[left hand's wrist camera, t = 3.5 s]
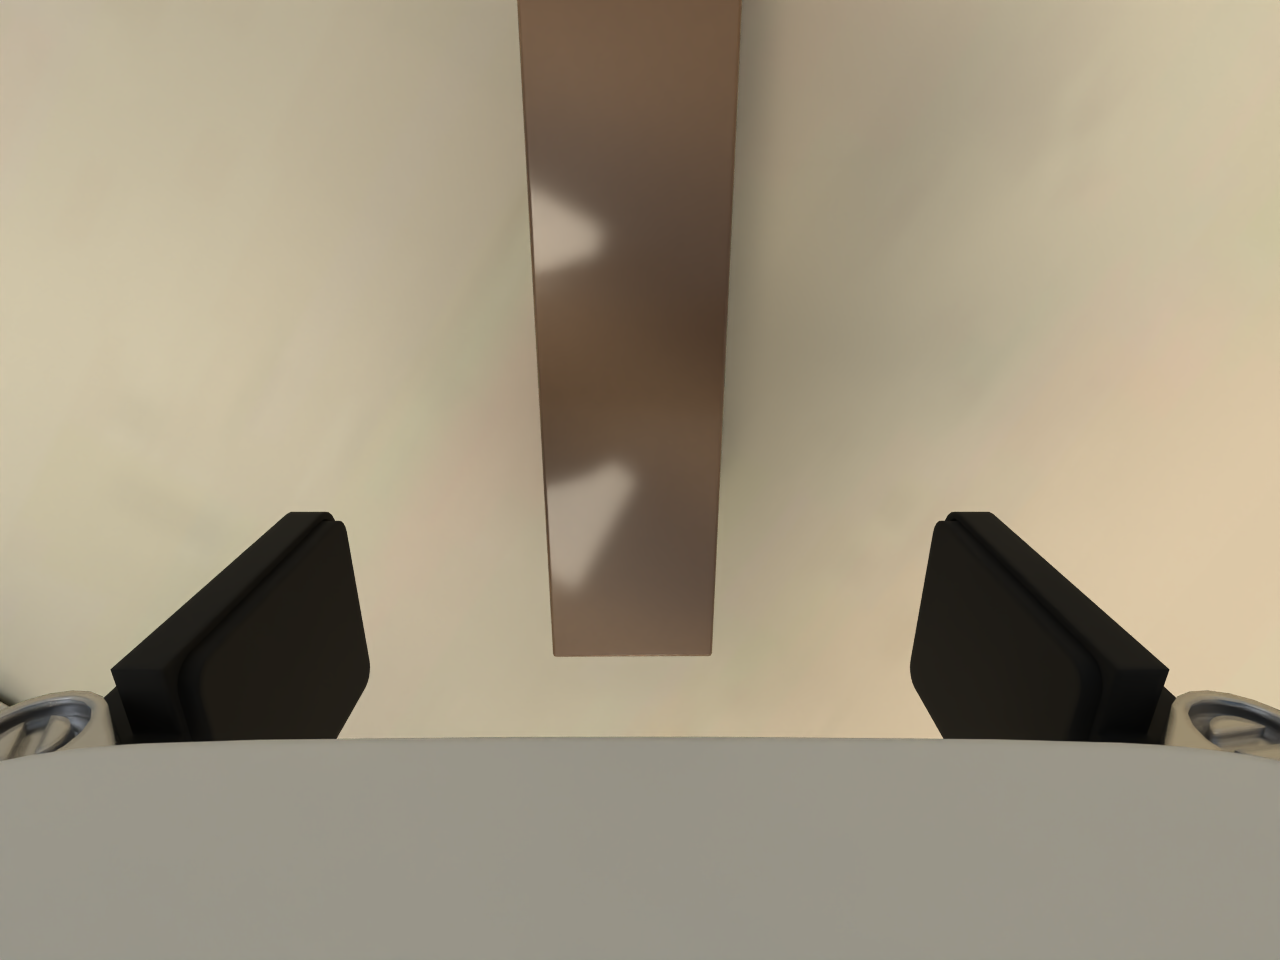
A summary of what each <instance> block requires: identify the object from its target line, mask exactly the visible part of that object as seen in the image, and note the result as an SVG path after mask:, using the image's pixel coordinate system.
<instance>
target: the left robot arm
mask: <svg viewBox="0 0 1280 960" xmlns="http://www.w3.org/2000/svg"><path fill="white" fill-rule="evenodd" d="M111 672H112V675H113V678H114V681H115V684H116V687H115V688H114V689H113V690H112V691H111V692H110V693H109V694H107V695H106V696H105V697H104V698H103V696H100V695H98V694H95V693H93V692H89V691H65V692H58V693H50V694H47V695H43V696H39V697H35V698H32V699H28V700H25V701H22V702H20V703H17V704H15V705H12V706H10V707H9V706H7V705H5V704H4V703H2V702H0V960H1280V710H1278V709H1275V708H1273V707H1270V706H1268V705H1265V704H1263V703H1260V702H1258V701H1255V700H1252V699H1248V698H1245V697H1241V696H1237V695H1233V694H1230V693H1222V692H1215V691H1191V692H1187V693H1185V694H1182V695H1180V696H1177V698H1176V697H1175V696H1174V695H1173V694H1171V693H1170V692H1169V691H1168V690H1167V689H1166V688H1165V687H1164V684H1165V681H1166V678H1167V675H1168V672H1169V669H1168V668H1167V667H1166V666H1165V665H1164V664H1163V663H1162V662H1160V661H1159V660H1158V659H1157V658H1156V657H1155V656H1154V655H1152V654H1151V653H1150V652H1149V651H1148V650H1147V649H1146V648H1145V647H1143V646H1142V645H1141V644H1140V643H1139V642H1138V641H1137V640H1135V639H1134V638H1133V637H1132V636H1131V635H1130V634H1129V633H1128V632H1126V631H1125V630H1124V629H1123V628H1122V627H1121V626H1120V625H1118V624H1117V623H1116V622H1115V621H1114V620H1113V619H1112V618H1110V617H1109V616H1108V615H1107V614H1106V613H1105V612H1104V611H1103V610H1101V609H1100V608H1099V607H1098V606H1097V605H1096V604H1095V603H1093V602H1092V601H1091V600H1090V599H1089V598H1088V597H1087V596H1086V595H1084V594H1083V593H1082V592H1081V591H1080V590H1079V589H1078V588H1076V587H1075V586H1074V585H1073V584H1072V583H1071V582H1070V581H1069V580H1067V579H1066V578H1065V577H1064V576H1063V575H1062V574H1061V573H1059V572H1058V571H1057V570H1056V569H1055V568H1054V567H1053V566H1052V565H1050V564H1049V563H1048V562H1047V561H1046V560H1045V559H1044V558H1042V557H1041V556H1040V555H1039V554H1038V553H1037V552H1036V551H1035V550H1033V549H1032V548H1031V547H1030V546H1029V545H1028V544H1027V543H1025V542H1024V541H1023V540H1022V539H1021V538H1020V537H1019V536H1018V535H1016V534H1015V533H1014V532H1013V531H1012V530H1011V529H1010V528H1008V527H1007V526H1006V525H1005V524H1004V523H1003V522H1002V521H1000V520H999V519H998V518H997V517H996V516H995V515H994V514H992V513H990V512H951V513H950V514H949V515H948V516H947V518H946V520H945V521H939V522H937V523H936V525H935V527H934V531H933V536H932V542H931V548H930V553H929V559H928V565H927V570H926V576H925V582H924V587H923V593H922V599H921V604H920V610H919V616H918V621H917V627H916V633H915V638H914V644H913V650H912V655H911V661H910V673H911V679H912V683H913V685H914V687H915V689H916V691H917V693H918V694H919V696H920V698H921V700H922V702H923V703H924V705H925V707H926V709H927V710H928V712H929V714H930V716H931V717H932V719H933V721H934V723H935V724H936V726H937V728H938V730H939V732H940V733H941V735H942V737H943V739H899V738H785V737H471V738H381V739H337V737H338V735H339V733H340V732H341V730H342V728H343V726H344V724H345V723H346V721H347V719H348V717H349V716H350V714H351V712H352V710H353V709H354V707H355V705H356V703H357V702H358V700H359V698H360V696H361V694H362V693H363V691H364V689H365V687H366V685H367V683H368V679H369V673H370V661H369V655H368V650H367V644H366V638H365V633H364V627H363V621H362V616H361V610H360V604H359V599H358V593H357V587H356V582H355V576H354V570H353V565H352V559H351V553H350V548H349V542H348V536H347V531H346V527H345V525H344V523H343V522H341V521H335V520H334V518H333V516H332V515H331V514H330V513H329V512H290V513H288V514H286V515H285V516H284V517H283V518H282V519H281V520H280V521H278V522H277V523H276V524H275V525H274V526H273V527H272V528H270V529H269V530H268V531H267V532H266V533H265V534H264V535H262V536H261V537H260V538H259V539H258V540H257V541H256V542H255V543H253V544H252V545H251V546H250V547H249V548H248V549H247V550H245V551H244V552H243V553H242V554H241V555H240V556H239V557H238V558H236V559H235V560H234V561H233V562H232V563H231V564H230V565H228V566H227V567H226V568H225V569H224V570H223V571H222V572H221V573H219V574H218V575H217V576H216V577H215V578H214V579H213V580H211V581H210V582H209V583H208V584H207V585H206V586H205V587H204V588H202V589H201V590H200V591H199V592H198V593H197V594H196V595H194V596H193V597H192V598H191V599H190V600H189V601H188V602H187V603H185V604H184V605H183V606H182V607H181V608H180V609H179V610H177V611H176V612H175V613H174V614H173V615H172V616H171V617H170V618H168V619H167V620H166V621H165V622H164V623H163V624H162V625H160V626H159V627H158V628H157V629H156V630H155V631H154V632H152V633H151V634H150V635H149V636H148V637H147V638H146V639H145V640H143V641H142V642H141V643H140V644H139V645H138V646H137V647H135V648H134V649H133V650H132V651H131V652H130V653H129V654H128V655H126V656H125V657H124V658H123V659H122V660H121V661H120V662H118V663H117V664H116V665H115V666H114V667H113V668H112V669H111Z"/></svg>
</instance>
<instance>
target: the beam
mask: <svg viewBox="0 0 1280 960" xmlns="http://www.w3.org/2000/svg"><path fill="white" fill-rule="evenodd" d="M517 6H518V24H519V42H520V61H521V79H522V97H523V115H524V133H525V151H526V170H527V188H528V206H529V224H530V242H531V261H532V279H533V297H534V315H535V333H536V351H537V370H538V388H539V406H540V424H541V442H542V461H543V479H544V497H545V515H546V533H547V551H548V570H549V588H550V606H551V624H552V642H553V654H554V656H556V657H573V656H710V655H711V654H712V639H713V618H714V596H715V575H716V553H717V532H718V510H719V488H720V467H721V445H722V424H723V402H724V381H725V359H726V338H727V316H728V294H729V273H730V251H731V230H732V208H733V187H734V165H735V143H736V122H737V100H738V79H739V57H740V36H741V14H742V0H517Z"/></svg>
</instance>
